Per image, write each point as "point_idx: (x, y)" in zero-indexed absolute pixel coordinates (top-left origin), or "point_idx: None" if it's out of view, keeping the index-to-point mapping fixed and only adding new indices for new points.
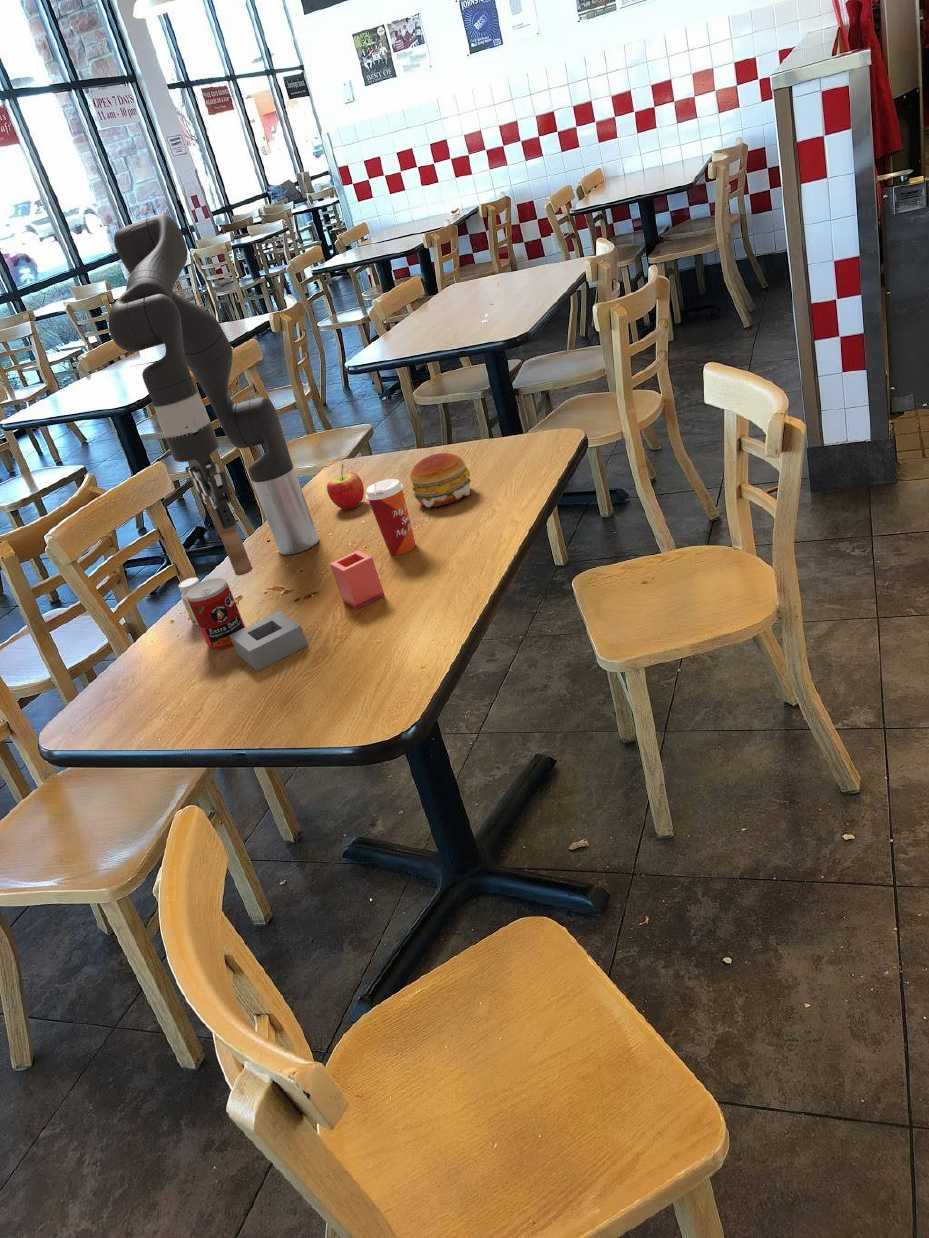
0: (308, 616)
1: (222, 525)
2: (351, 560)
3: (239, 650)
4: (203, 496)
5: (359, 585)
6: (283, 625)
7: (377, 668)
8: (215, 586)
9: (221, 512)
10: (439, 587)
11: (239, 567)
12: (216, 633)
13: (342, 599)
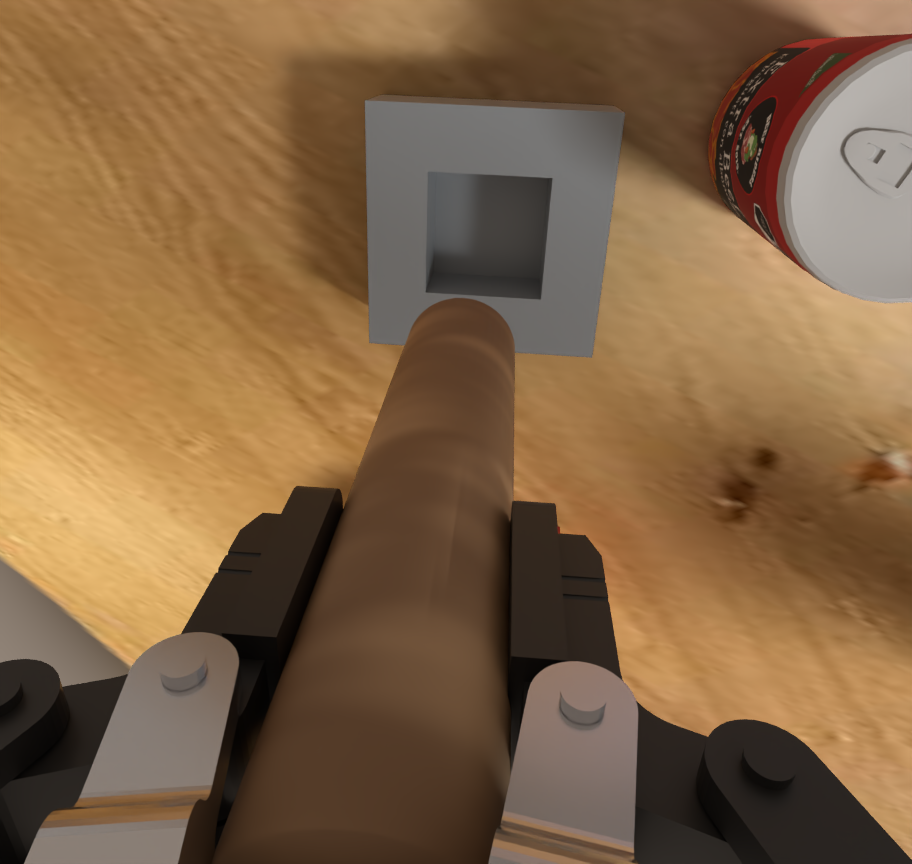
0: (592, 418)
1: (289, 504)
2: None
3: (543, 104)
4: (563, 775)
5: None
6: None
7: (31, 362)
8: (884, 231)
9: (192, 624)
10: None
11: (408, 338)
12: (751, 85)
13: (559, 530)
